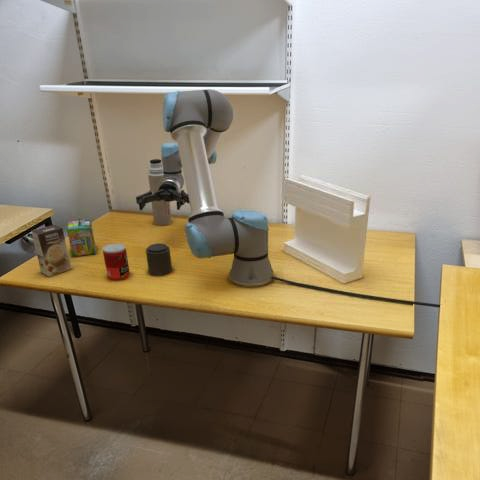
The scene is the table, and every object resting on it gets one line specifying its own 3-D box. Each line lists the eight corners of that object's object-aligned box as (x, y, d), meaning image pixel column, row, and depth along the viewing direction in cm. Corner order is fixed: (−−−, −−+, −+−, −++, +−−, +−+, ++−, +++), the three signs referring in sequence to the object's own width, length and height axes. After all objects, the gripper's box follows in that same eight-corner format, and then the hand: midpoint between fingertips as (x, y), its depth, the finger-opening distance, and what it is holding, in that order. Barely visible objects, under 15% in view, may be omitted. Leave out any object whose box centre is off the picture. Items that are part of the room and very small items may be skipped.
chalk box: (72, 248, 195) (65, 213, 187) (96, 246, 197) (89, 211, 189) (71, 257, 187) (63, 220, 180) (96, 254, 189) (88, 218, 182)
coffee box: (48, 277, 172) (37, 234, 164) (40, 272, 176) (29, 230, 168) (72, 269, 177) (62, 227, 169) (64, 264, 181) (54, 223, 173)
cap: (177, 270, 173) (174, 246, 168) (157, 278, 168) (153, 253, 164) (163, 264, 179) (160, 240, 174) (143, 271, 174) (140, 247, 169)
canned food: (125, 281, 167) (120, 252, 161) (103, 280, 168) (98, 250, 163) (133, 272, 173) (129, 243, 168) (113, 271, 175) (108, 242, 169)
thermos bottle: (175, 221, 221) (168, 158, 207) (164, 226, 215) (156, 162, 201) (161, 219, 224) (154, 157, 210) (150, 224, 219) (142, 161, 205)
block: (361, 277, 164) (370, 196, 149) (343, 283, 160) (350, 201, 146) (299, 246, 190) (302, 174, 176) (283, 250, 186) (284, 178, 172)
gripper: (201, 198, 191) (194, 216, 173) (139, 199, 192) (126, 216, 174) (200, 179, 187) (192, 195, 169) (137, 180, 188) (123, 196, 170)
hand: (159, 206), depth 171 cm, fingers open, 13 cm apart
